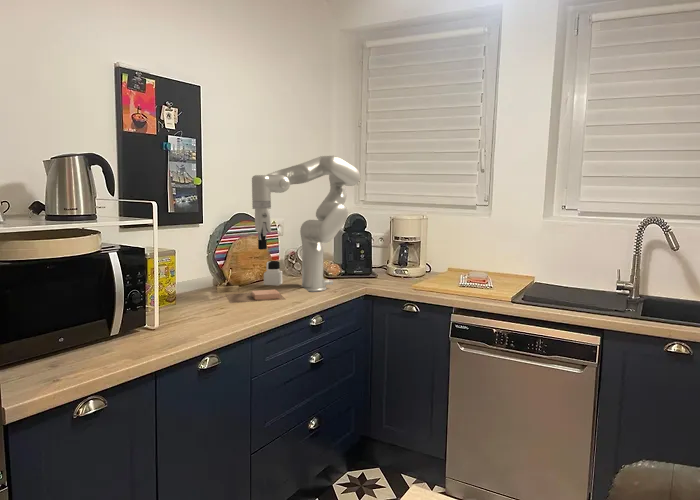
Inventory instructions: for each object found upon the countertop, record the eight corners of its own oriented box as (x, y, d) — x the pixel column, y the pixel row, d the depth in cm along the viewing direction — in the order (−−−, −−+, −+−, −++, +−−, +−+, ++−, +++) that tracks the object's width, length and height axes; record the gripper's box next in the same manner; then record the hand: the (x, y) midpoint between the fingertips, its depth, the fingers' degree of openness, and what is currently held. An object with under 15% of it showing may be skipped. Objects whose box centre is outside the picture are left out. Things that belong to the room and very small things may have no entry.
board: (277, 294, 225) (277, 291, 225) (285, 302, 210) (285, 299, 210) (225, 297, 218) (225, 294, 217) (230, 306, 203) (230, 302, 203)
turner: (255, 291, 231) (255, 283, 231) (258, 294, 225) (258, 286, 225) (216, 293, 225) (216, 285, 225) (218, 297, 219) (218, 289, 219)
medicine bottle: (282, 285, 245) (282, 260, 243) (278, 288, 238) (278, 262, 236) (267, 285, 246) (267, 259, 244) (263, 288, 239) (263, 262, 237)
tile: (275, 289, 218) (279, 293, 211) (275, 294, 219) (279, 298, 211) (251, 290, 215) (255, 294, 208) (251, 295, 215) (255, 300, 208)
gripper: (274, 206, 210) (275, 251, 213) (266, 204, 224) (267, 246, 227) (256, 206, 207) (257, 252, 210) (249, 204, 221) (250, 247, 224)
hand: (262, 249), depth 218 cm, fingers closed
